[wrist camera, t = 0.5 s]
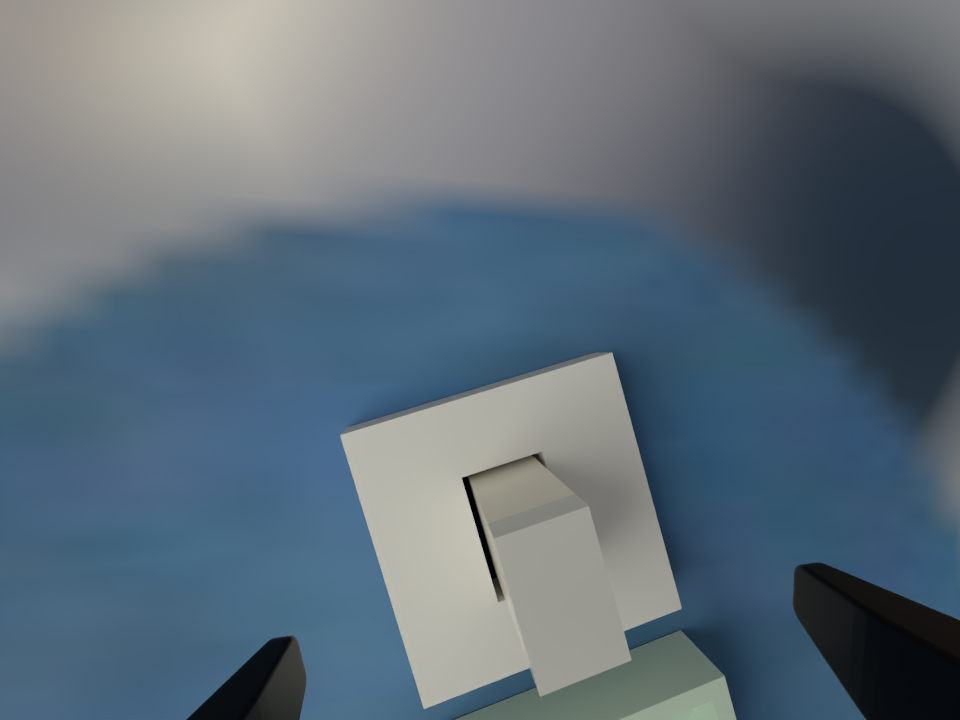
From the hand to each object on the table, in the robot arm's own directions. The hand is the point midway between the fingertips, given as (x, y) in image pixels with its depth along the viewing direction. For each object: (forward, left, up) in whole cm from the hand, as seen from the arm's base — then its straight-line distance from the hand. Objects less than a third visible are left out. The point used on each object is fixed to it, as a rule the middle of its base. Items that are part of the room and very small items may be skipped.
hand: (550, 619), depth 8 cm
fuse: (-3, -1, -13) cm, 14 cm away
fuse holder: (-3, -1, -13) cm, 14 cm away
